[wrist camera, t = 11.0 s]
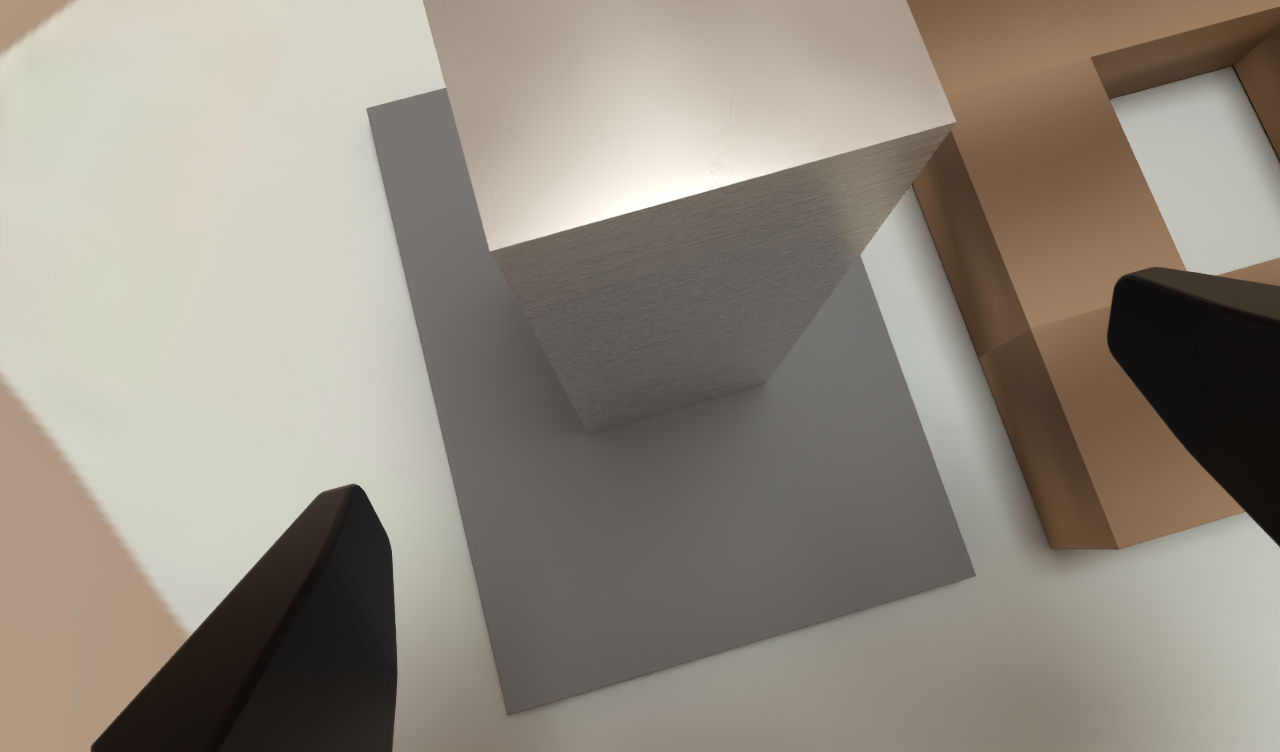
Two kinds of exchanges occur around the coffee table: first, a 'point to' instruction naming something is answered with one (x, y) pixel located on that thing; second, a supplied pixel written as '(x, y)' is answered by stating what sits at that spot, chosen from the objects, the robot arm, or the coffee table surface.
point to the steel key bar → (682, 175)
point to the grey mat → (654, 466)
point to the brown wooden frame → (1075, 234)
